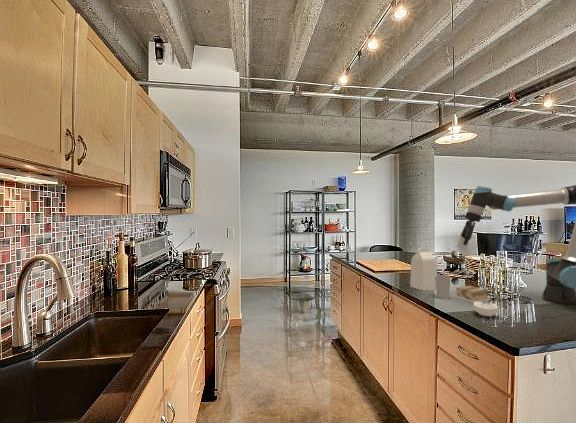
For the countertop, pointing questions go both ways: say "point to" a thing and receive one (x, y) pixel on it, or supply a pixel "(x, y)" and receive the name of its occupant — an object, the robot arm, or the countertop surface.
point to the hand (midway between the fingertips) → (460, 249)
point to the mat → (471, 300)
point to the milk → (423, 270)
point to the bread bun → (472, 293)
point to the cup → (442, 286)
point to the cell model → (486, 308)
